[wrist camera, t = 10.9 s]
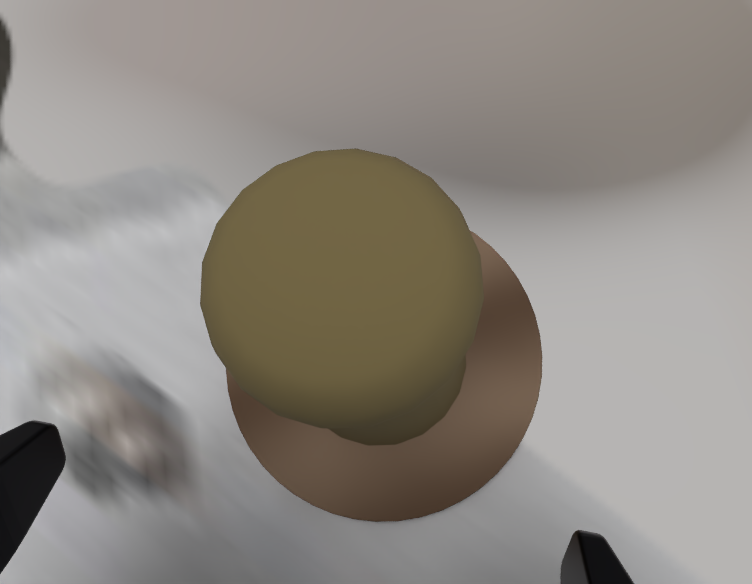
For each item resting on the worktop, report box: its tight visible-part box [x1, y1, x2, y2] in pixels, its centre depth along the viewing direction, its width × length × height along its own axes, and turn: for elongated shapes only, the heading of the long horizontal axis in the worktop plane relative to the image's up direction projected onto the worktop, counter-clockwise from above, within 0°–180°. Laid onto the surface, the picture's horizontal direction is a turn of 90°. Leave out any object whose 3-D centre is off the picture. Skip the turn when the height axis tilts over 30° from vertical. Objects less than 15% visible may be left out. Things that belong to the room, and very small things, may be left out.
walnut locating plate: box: [226, 231, 542, 522], centre depth 18 cm, size 11×11×4 cm
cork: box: [200, 149, 484, 446], centre depth 14 cm, size 6×6×11 cm
